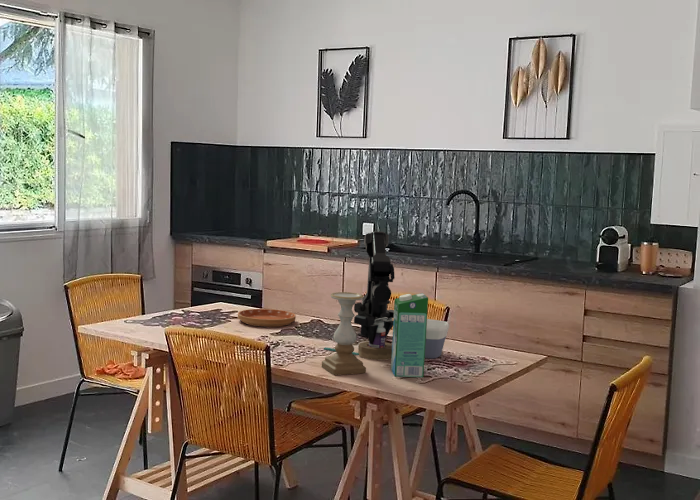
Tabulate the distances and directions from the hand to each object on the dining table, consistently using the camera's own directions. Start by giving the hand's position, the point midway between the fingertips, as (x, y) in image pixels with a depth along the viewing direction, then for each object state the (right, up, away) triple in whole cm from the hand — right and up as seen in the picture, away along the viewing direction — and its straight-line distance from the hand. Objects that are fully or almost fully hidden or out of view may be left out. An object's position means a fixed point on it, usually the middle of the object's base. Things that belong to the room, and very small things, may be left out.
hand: (376, 342), depth 274 cm
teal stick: (-12, -4, +3) cm, 12 cm away
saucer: (-42, +2, +47) cm, 63 cm away
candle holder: (-11, -6, -21) cm, 24 cm away
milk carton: (+9, -7, -21) cm, 24 cm away
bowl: (+16, -5, +6) cm, 18 cm away
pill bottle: (0, -3, 0) cm, 3 cm away
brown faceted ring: (0, -4, 0) cm, 5 cm away
